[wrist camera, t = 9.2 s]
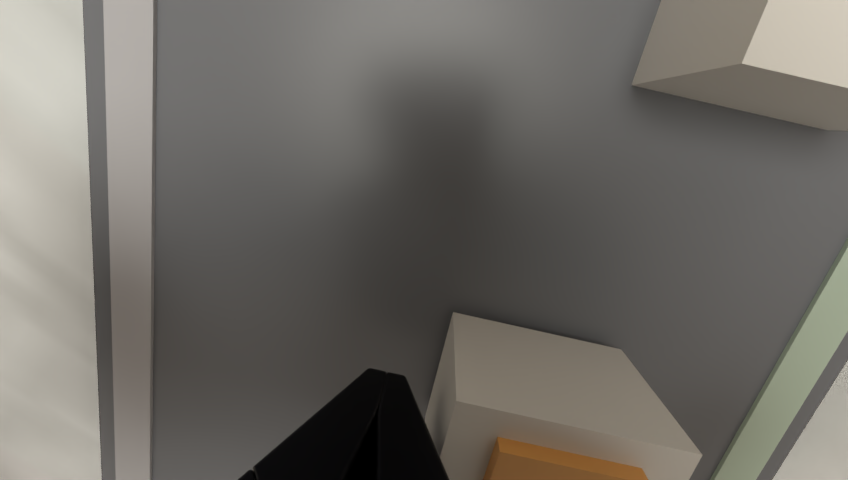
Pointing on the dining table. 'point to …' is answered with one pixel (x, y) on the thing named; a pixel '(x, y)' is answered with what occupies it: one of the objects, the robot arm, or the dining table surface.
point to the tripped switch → (548, 410)
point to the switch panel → (461, 208)
